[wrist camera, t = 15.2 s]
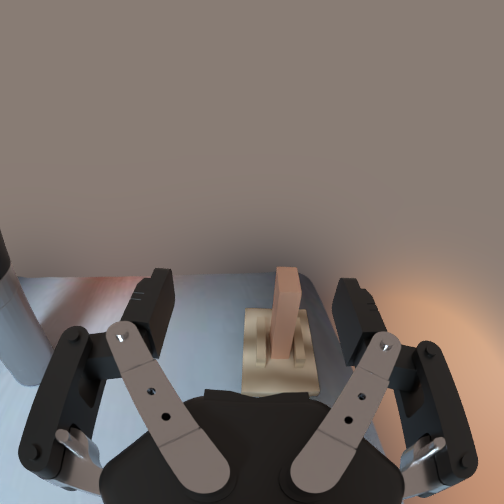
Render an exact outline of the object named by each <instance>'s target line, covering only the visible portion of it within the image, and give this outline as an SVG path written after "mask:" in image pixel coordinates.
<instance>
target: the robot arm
mask: <svg viewBox="0 0 504 504" xmlns="http://www.w3.org/2000/svg"><path fill="white" fill-rule="evenodd" d="M174 304H175V292H174V284H173V277H172V271H171V269H163V268H155V269H154V272H153V274H152V276H151V278H144V279H143V280H141V281H140V282H139V283H138V284H137V286H136V288H135V290H134V293H133V294H132V296H131V299H130V300H129V303H128V305H127V307H126V309H125V311H124V313H123V316H122V318H121V320H120V321H119V322H116V323H114V324H112V325H111V326H110V327H109V328H108V330H107V332H104V333H96V334H89V333H88V331H87V330H86V329H85V328H84V327H81V326H73V327H70V328H68V329H67V330H65V331H64V333H63V334H62V335H61V338H60V340H59V342H58V344H57V346H56V348H55V350H54V349H53V348H52V346H51V344H50V342H49V341H48V339H47V337H46V335H45V333H44V331H43V330H42V328H41V326H40V324H39V322H38V320H37V318H36V316H35V314H34V312H33V310H32V308H31V306H30V304H29V302H28V300H27V298H26V296H25V294H24V291H23V289H22V287H21V285H20V282H19V280H18V278H17V276H16V273H15V271H14V268H13V265H12V263H11V261H10V258H9V255H8V252H7V249H6V247H5V243H4V240H3V237H2V234H1V231H0V359H1V361H2V362H3V363H4V365H5V366H6V368H7V369H8V370H9V371H10V373H11V374H12V375H13V377H14V378H15V379H16V380H17V381H18V382H19V383H20V384H22V385H25V386H34V385H38V384H40V386H39V388H38V391H37V393H36V396H35V399H34V402H33V404H32V407H31V410H30V413H29V416H28V419H27V422H26V425H25V428H24V431H23V435H22V438H21V441H20V445H19V449H18V456H19V459H20V462H21V464H22V465H23V466H24V467H25V468H26V469H27V470H29V471H31V472H32V473H34V474H36V475H37V476H38V477H40V478H42V479H43V480H45V481H47V482H49V483H51V484H53V485H55V486H58V487H61V488H63V489H65V490H68V491H75V490H79V491H82V492H85V493H89V494H92V495H95V496H99V497H101V498H102V500H103V503H104V504H401V502H402V500H404V499H407V498H411V497H414V496H419V497H422V498H426V497H429V496H431V495H434V494H436V493H438V492H441V491H443V490H445V489H447V488H449V487H451V486H453V485H455V484H458V483H459V482H461V481H463V480H465V479H467V478H469V477H471V476H472V475H473V474H474V473H475V471H476V469H477V466H478V457H477V453H476V449H475V445H474V441H473V438H472V434H471V431H470V427H469V424H468V421H467V418H466V415H465V411H464V409H463V406H462V403H461V400H460V397H459V394H458V391H457V389H456V386H455V383H454V381H453V378H452V375H451V373H450V370H449V368H448V365H447V363H446V361H445V358H444V356H443V353H442V351H441V349H440V348H439V347H438V346H437V345H436V344H435V343H433V342H431V341H422V342H420V343H419V344H418V346H417V347H416V348H415V347H410V346H405V345H401V343H400V341H399V339H398V338H397V337H396V336H395V335H393V334H391V333H389V332H387V329H386V327H385V325H384V322H383V320H382V318H381V315H380V313H379V311H378V308H377V306H376V305H375V302H374V299H373V297H372V296H371V294H369V292H368V291H367V290H366V289H361V288H360V286H359V284H358V281H357V280H356V279H355V278H340V280H339V282H338V286H337V289H336V293H335V296H334V299H333V304H332V314H333V317H334V321H335V325H336V329H337V332H338V336H339V340H340V344H341V347H342V351H343V355H344V359H345V363H346V366H355V371H354V372H353V374H352V376H351V378H350V379H349V381H348V383H347V384H346V386H345V388H344V389H343V391H342V392H341V394H340V396H339V397H338V399H337V400H336V402H335V404H334V405H333V407H332V408H330V407H329V406H327V405H325V404H323V403H321V402H319V401H316V400H312V399H309V393H308V392H283V393H278V394H274V395H269V396H265V397H259V398H256V397H251V396H247V395H243V394H240V393H236V392H232V391H223V390H210V389H205V392H204V396H200V397H196V398H192V399H190V400H187V401H185V402H182V401H181V399H180V398H179V396H178V395H177V393H176V391H175V390H174V388H173V387H172V385H171V383H170V382H169V380H168V379H167V377H166V375H165V374H164V372H163V370H162V369H161V367H160V365H159V364H158V362H157V360H156V359H153V358H157V359H159V356H160V353H161V349H162V346H163V342H164V339H165V335H166V332H167V328H168V325H169V321H170V318H171V315H172V311H173V308H174ZM114 378H123V381H124V383H125V385H126V387H127V389H128V391H129V394H130V396H131V398H132V400H133V402H134V404H135V406H136V408H137V410H138V412H139V414H140V415H141V417H142V419H143V421H144V423H145V425H146V427H147V428H148V431H147V432H146V433H145V434H143V435H142V436H141V437H140V438H139V439H137V440H136V441H135V442H134V443H132V444H131V445H130V446H129V447H127V448H126V449H125V450H123V451H122V452H121V453H120V454H118V455H117V456H116V457H114V458H113V459H112V460H111V461H109V462H108V463H107V464H106V465H105V467H104V468H102V466H101V464H100V460H99V450H98V447H97V446H96V444H95V443H94V442H93V441H92V440H91V439H92V435H93V430H94V426H95V422H96V418H97V414H98V410H99V406H100V402H101V398H102V395H103V391H104V387H105V384H106V380H107V379H114ZM387 388H390V389H393V390H394V394H395V398H396V402H397V406H398V411H399V415H400V419H401V424H402V429H403V433H404V439H405V444H406V450H405V451H404V452H403V454H402V456H401V464H400V469H399V468H398V467H397V466H396V465H395V464H393V463H392V462H391V461H390V460H389V459H388V458H387V457H385V456H384V455H383V454H382V453H381V452H380V451H378V450H377V449H376V448H375V447H374V446H373V445H372V444H370V443H369V442H368V441H367V440H366V439H365V438H364V437H363V436H364V434H365V432H366V431H367V429H368V427H369V425H370V423H371V421H372V419H373V417H374V415H375V413H376V411H377V409H378V407H379V405H380V403H381V400H382V398H383V396H384V394H385V392H386V389H387Z"/></svg>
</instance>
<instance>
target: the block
mask: <svg viewBox="0 0 504 504" xmlns="http://www.w3.org/2000/svg"><path fill="white" fill-rule="evenodd" d="M301 294H302V291H301V286H300V281H299V276H298V271H297V268H296V267H277V270H276V280H275V289H274V299H273V308H272V317H271V326H270V352H271V359H289V355H290V351H291V346H292V341H293V336H294V331H295V326H296V321H297V316H298V311H299V305H300V300H301Z"/></svg>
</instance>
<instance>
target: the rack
mask: <svg viewBox="0 0 504 504" xmlns="http://www.w3.org/2000/svg"><path fill="white" fill-rule="evenodd" d="M271 317H272V309H259V308H245V327H244V347H243V369H242V390H241V394H243V395H247V396H251V397H265V396H269V395H274V394H278V393H283V392H308V393H309V396H318V395H319V392H320V389H319V383H318V376H317V370H316V364H315V358H314V352H313V346H312V340H311V335H310V329H309V324H308V318H307V313H306V310H302V309H299V311H298V316H297V321H296V326H295V331H294V336H293V341H292V346H291V351H290V355H289V359H271V352H270V326H271Z"/></svg>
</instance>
